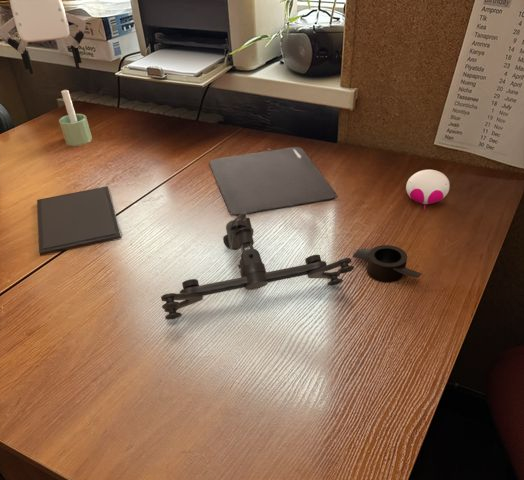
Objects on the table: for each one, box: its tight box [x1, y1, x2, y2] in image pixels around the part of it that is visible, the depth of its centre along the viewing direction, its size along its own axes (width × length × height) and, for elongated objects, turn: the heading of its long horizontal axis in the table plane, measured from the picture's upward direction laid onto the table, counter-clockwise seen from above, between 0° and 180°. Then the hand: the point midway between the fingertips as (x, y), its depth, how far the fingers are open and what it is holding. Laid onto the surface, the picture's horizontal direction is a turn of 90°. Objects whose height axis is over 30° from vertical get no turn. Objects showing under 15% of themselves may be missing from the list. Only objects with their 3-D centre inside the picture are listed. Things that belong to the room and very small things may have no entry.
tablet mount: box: [160, 214, 355, 320], centre depth 76 cm, size 27×14×17 cm
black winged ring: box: [352, 244, 422, 284], centre depth 78 cm, size 8×10×3 cm
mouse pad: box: [209, 146, 337, 216], centre depth 103 cm, size 25×21×1 cm
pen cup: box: [58, 113, 93, 147], centre depth 119 cm, size 6×6×6 cm
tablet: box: [36, 185, 122, 257], centre depth 94 cm, size 20×14×1 cm
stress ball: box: [405, 169, 451, 210], centre depth 92 cm, size 8×8×7 cm
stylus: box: [60, 89, 78, 123], centre depth 117 cm, size 2×2×11 cm
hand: (55, 69), depth 110 cm, fingers open, 9 cm apart
